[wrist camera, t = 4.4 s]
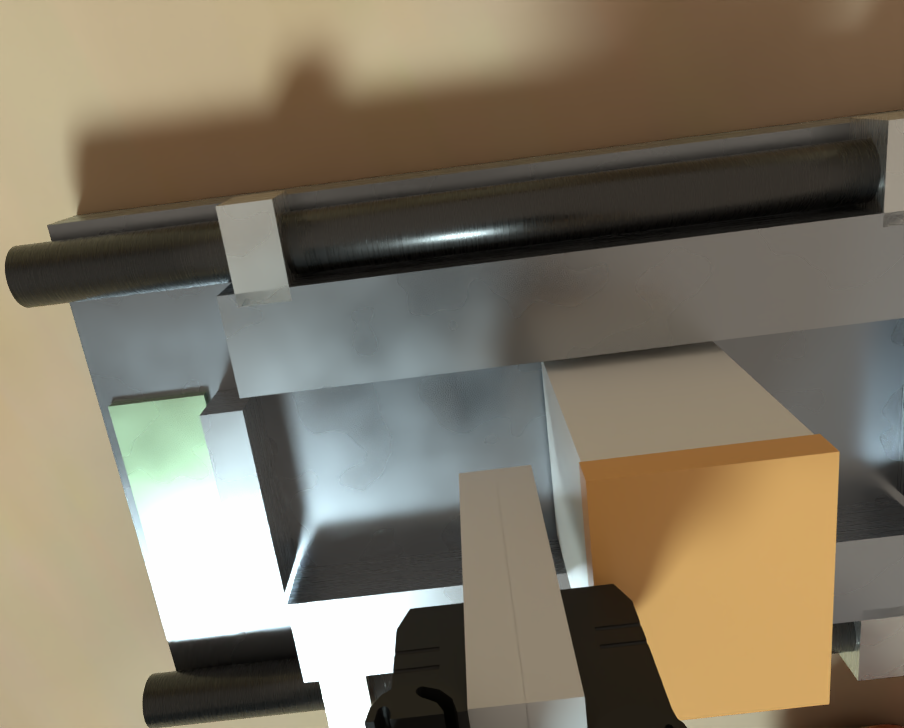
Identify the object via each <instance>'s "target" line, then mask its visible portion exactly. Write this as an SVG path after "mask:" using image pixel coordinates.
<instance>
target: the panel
mask: <svg viewBox="0 0 904 728" xmlns="http://www.w3.org/2000/svg"><path fill="white" fill-rule="evenodd" d="M47 227H48V230H49V234H50V237H51V242H44V243H36V244H28V245H20V246H14V247H12V248H11V249H10V250H9V252H8V254H7V256H6V261H5V274H6V280H7V283H8V286H9V289H10V291H11V293H12V295H13V297H14V298H15V299H16V301H17V302H18V303H19V304H21V305H22V306H24V307H27V308H30V307H38V306H46V305H54V304H62V303H70V306H71V309H72V313H73V316H74V320H75V323H76V327H77V330H78V333H79V337H80V340H81V344H82V347H83V351H84V354H85V358H86V361H87V364H88V368H89V371H90V375H91V378H92V382H93V385H94V389H95V392H96V395H97V399H98V402H99V406H100V409H101V413H102V416H103V420H104V423H105V426H106V430H107V433H108V437H109V440H110V444H111V447H112V451H113V454H114V457H115V461H116V464H117V468H118V471H119V475H120V478H121V482H122V485H123V488H124V492H125V495H126V499H127V502H128V506H129V509H130V513H131V516H132V519H133V523H134V526H135V530H136V533H137V537H138V540H139V543H140V547H141V550H142V554H143V557H144V561H145V564H146V568H147V571H148V574H149V578H150V581H151V585H152V588H153V592H154V595H155V599H156V602H157V605H158V609H159V612H160V616H161V619H162V623H163V626H164V630H165V633H166V636H167V640H168V643H169V647H170V650H171V654H172V657H173V661H174V664H175V667H176V671H174V672H165V673H156V674H152V675H151V676H150V677H149V678H148V680H147V682H146V685H145V688H144V693H143V715H144V719H145V722H146V724H147V726H148V727H149V728H162V727H171V726H180V725H189V724H198V723H207V722H216V721H225V720H235V719H244V718H253V717H262V716H271V715H280V714H289V713H298V712H307V711H316V710H325V709H326V713H327V718H328V722H329V727H330V728H365V724H364V722H365V719H366V716H367V714H368V711H369V708H370V707H371V706H372V705H373V703H374V702H375V701H376V700H377V699H378V698H379V697H380V696H381V695H382V694H383V693H385V692H387V691H389V690H390V689H391V687H392V676H393V665H394V656H395V642H396V631H397V628H398V626H399V625H400V623H401V622H402V620H403V619H404V617H405V616H406V614H407V613H408V611H409V610H410V609H412V608H421V607H430V606H439V605H447V604H456V603H464V601H463V575H462V548H461V521H460V495H459V473H466V472H475V471H483V470H492V469H500V468H509V467H517V466H526V465H531V467H532V471H533V475H534V480H535V484H536V488H537V493H538V497H539V501H540V506H541V510H542V514H543V519H544V523H545V527H546V532H547V536H548V540H549V545H550V549H551V553H552V558H553V562H554V566H555V571H556V575H557V579H558V584H559V588H560V590H562V589H571V586H570V582H569V579H568V575H567V571H566V567H565V563H564V560H563V556H562V552H561V548H560V544H559V541H558V537H557V529H556V518H555V507H554V496H553V485H552V474H551V463H550V453H549V442H548V431H547V420H546V409H545V398H544V387H543V376H542V365H541V362H544V361H553V360H561V359H569V358H577V357H586V356H594V355H602V354H610V353H619V352H627V351H635V350H644V349H652V348H660V347H668V346H677V345H685V344H693V343H701V342H710V341H713V342H714V343H715V344H716V345H717V346H718V347H719V348H721V349H722V350H723V351H724V352H725V353H726V354H727V355H728V356H729V357H730V358H731V359H733V360H734V361H735V362H736V363H737V364H738V365H739V366H740V367H741V368H742V369H743V370H745V371H746V372H747V373H748V374H749V375H750V376H751V377H752V378H753V379H754V380H755V381H757V382H758V383H759V384H760V385H761V386H762V387H763V388H764V389H765V390H766V391H767V392H769V393H770V394H771V395H772V396H773V397H774V398H775V399H776V400H777V401H778V402H779V403H781V404H782V405H783V406H784V407H785V408H786V409H787V410H788V411H789V412H790V413H791V414H793V415H794V416H795V417H796V418H797V419H798V420H799V421H800V422H801V423H802V424H803V425H805V426H806V427H807V428H808V429H809V430H810V431H811V432H812V433H813V434H821V435H822V436H823V437H824V438H825V439H826V440H827V441H828V442H830V443H831V444H832V445H833V446H834V447H835V448H836V449H837V450H838V451H840V454H839V479H838V504H837V528H836V553H835V578H834V602H833V627H832V652H831V654H835V653H839V655H840V656H841V657H842V659H843V660H844V662H845V663H846V664H847V666H848V667H849V669H850V670H851V671H852V673H853V674H854V676H855V677H856V679H857V680H858V681H861V680H870V679H879V678H889V677H898V676H904V110H896V111H888V112H880V113H873V114H865V115H857V116H849V117H841V118H834V119H826V120H818V121H810V122H802V123H795V124H787V125H779V126H771V127H763V128H756V129H748V130H740V131H732V132H724V133H717V134H709V135H701V136H693V137H685V138H677V139H670V140H662V141H654V142H646V143H638V144H631V145H623V146H615V147H607V148H599V149H592V150H584V151H576V152H568V153H560V154H553V155H545V156H537V157H529V158H521V159H514V160H506V161H498V162H490V163H482V164H475V165H467V166H459V167H451V168H443V169H435V170H428V171H420V172H412V173H404V174H396V175H389V176H381V177H373V178H365V179H357V180H350V181H342V182H334V183H326V184H318V185H311V186H303V187H295V188H287V189H279V190H272V191H264V192H256V193H248V194H240V195H233V196H225V197H217V198H209V199H201V200H193V201H186V202H178V203H170V204H162V205H154V206H147V207H139V208H131V209H123V210H115V211H108V212H100V213H92V214H84V215H76V216H73V217H70V218H67V219H64V220H61V221H58V222H55V223H52V224H49V225H47Z"/></svg>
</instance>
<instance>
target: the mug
mask: <svg viewBox="0 0 904 728" xmlns="http://www.w3.org/2000/svg"><path fill="white" fill-rule="evenodd" d="M861 728H904V727H902V726H899V725H890V724H881V725H874V726H868V727H861Z"/></svg>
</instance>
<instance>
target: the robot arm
mask: <svg viewBox="0 0 904 728" xmlns="http://www.w3.org/2000/svg"><path fill="white" fill-rule="evenodd" d="M459 495H460V521H461V548H462V575H463V601H464V603H456V604H447V605H439V606H430V607H421V608H412V609H410V610H409V611H408V613H407V614H406V616H405V617H404V619H403V620H402V622H401V623H400V625H399V626H398V628H397V631H396V642H395V656H394V665H393V676H392V687H391V689H390V690H389V691H387V692H385V693H383V694H382V695H381V696H380V697H379V698H378V699H377V700H376V701H375V702H374V703H373V705H372V706H371V707H370V708H369V711H368V714H367V716H366V719H365V722H364V724H365V728H687V727H686V726H685V724H684V723H683V722H681V721H680V720H679V719H677V717H676V715H675V713H674V711H673V710H672V707H671V705H670V702H669V699H668V697H667V694H666V691H665V688H664V686H663V683H662V680H661V678H660V675H659V672H658V669H657V667H656V664H655V661H654V658H653V656H652V653H651V650H650V648H649V645H648V644H647V639H646V637H645V634H644V631H643V629H642V626H641V625H640V620H639V618H638V615H637V612H636V610H635V607H634V604H633V601H632V600H631V599H630V598H629V597H628V596H626V595H625V594H624V593H623V592H622V591H621V590H620V589H619V588H618V587H616V586H615V585H614V584H606V585H598V586H589V587H580V588H571V589H562V590H560V588H559V584H558V579H557V575H556V571H555V566H554V562H553V558H552V553H551V549H550V545H549V540H548V536H547V532H546V527H545V523H544V519H543V514H542V510H541V506H540V501H539V497H538V493H537V488H536V484H535V480H534V475H533V471H532V467H531V465H526V466H517V467H509V468H500V469H492V470H483V471H475V472H466V473H459Z"/></svg>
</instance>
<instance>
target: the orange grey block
mask: <svg viewBox="0 0 904 728" xmlns="http://www.w3.org/2000/svg"><path fill="white" fill-rule="evenodd" d="M541 365H542V376H543V387H544V398H545V409H546V420H547V431H548V442H549V453H550V463H551V474H552V485H553V496H554V507H555V518H556V529H557V537H558V541H559V544H560V548H561V552H562V556H563V560H564V563H565V567H566V571H567V575H568V579H569V582H570V586H571V588H580V587H589V586H598V585H606V584H614V585H615V586H616V587H618V588H619V589H620V590H621V591H622V592H623V593H624V594H625V595H626V596H628V597H629V598H630V599H631V600H632V601H633V604H634V607H635V610H636V612H637V615H638V618H639V620H640V625H641V626H642V629H643V631H644V634H645V637H646V639H647V644H648V645H649V648H650V650H651V653H652V656H653V658H654V661H655V664H656V667H657V669H658V672H659V675H660V678H661V680H662V683H663V686H664V688H665V691H666V694H667V697H668V699H669V702H670V705H671V707H672V710H673V711H674V713H675V715H676V717H677V719H679V720H688V719H697V718H706V717H716V716H725V715H734V714H743V713H753V712H762V711H771V710H780V709H790V708H799V707H808V706H817V705H826V704H829V701H830V676H831V652H832V627H833V602H834V578H835V553H836V528H837V504H838V479H839V454H840V451H838V450H837V449H836V448H835V447H834V446H833V445H832V444H831V443H830V442H828V441H827V440H826V439H825V438H824V437H823V436H822V435H821V434H813V433H812V432H811V431H810V430H809V429H808V428H807V427H806V426H805V425H803V424H802V423H801V422H800V421H799V420H798V419H797V418H796V417H795V416H794V415H793V414H791V413H790V412H789V411H788V410H787V409H786V408H785V407H784V406H783V405H782V404H781V403H779V402H778V401H777V400H776V399H775V398H774V397H773V396H772V395H771V394H770V393H769V392H767V391H766V390H765V389H764V388H763V387H762V386H761V385H760V384H759V383H758V382H757V381H755V380H754V379H753V378H752V377H751V376H750V375H749V374H748V373H747V372H746V371H745V370H743V369H742V368H741V367H740V366H739V365H738V364H737V363H736V362H735V361H734V360H733V359H731V358H730V357H729V356H728V355H727V354H726V353H725V352H724V351H723V350H722V349H721V348H719V347H718V346H717V345H716V344H715V343H714V342H713V341H710V342H701V343H693V344H685V345H677V346H668V347H660V348H652V349H644V350H635V351H627V352H619V353H610V354H602V355H594V356H586V357H577V358H569V359H561V360H553V361H544V362H541Z"/></svg>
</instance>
